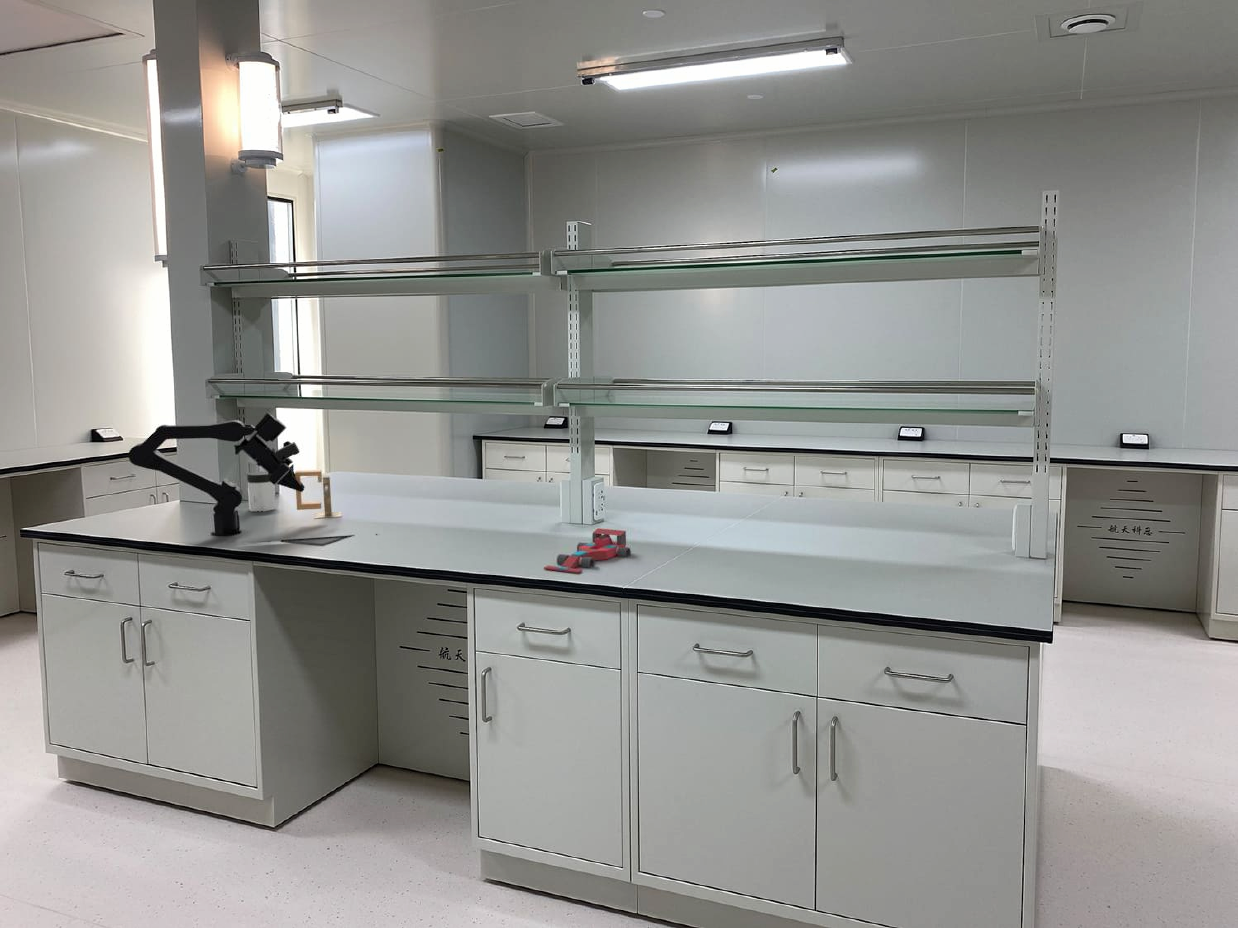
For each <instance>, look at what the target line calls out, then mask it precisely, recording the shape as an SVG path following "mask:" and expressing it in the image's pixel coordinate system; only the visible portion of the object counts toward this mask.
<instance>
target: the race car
mask: <svg viewBox="0 0 1238 928" xmlns="http://www.w3.org/2000/svg"><path fill="white" fill-rule="evenodd" d="M626 533H627V530H619V529H608V528H596V529H595V530H594V531H593V532H592V539H591V540H592V542H589V543H587V542H580V541H579V542H578V544H577V545H576V551H577V552H574V553H573V552H572V553H571V554H565V553H564V554H562V553H561V554H558V555H557V556H556V557H557V558H556V564H557V565H560V566H555V565H547V566H544V567H543V570H549V571H559V572H566V573H573V574H579V573H581V572H583V569H580V568H577V567H581V568H586V569H591V568H594V567H595V565H596V561H603V560H608V559H611V558H613V557H616V556H617V557H618V558H619V557H620V558H628V557H630V556H631V554H632V552H631V551H632V549H631V548H630V547H628V546H627V534H626ZM611 536H616V541H613V540H612V538H611Z"/></svg>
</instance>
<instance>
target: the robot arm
mask: <svg viewBox="0 0 1238 928" xmlns="http://www.w3.org/2000/svg"><path fill="white" fill-rule="evenodd" d="M286 429H287V426H286V425H285V424H284V423H283V422H282V421H281V420H279V419H278V418H276V417H275V416H273V414H271V413H269V412H267V413H265V414H264V415H263V417H262V418H261V419H260V421H259V422H257V424H256V425H254V424H244V423H243V422H242V421H241V420H238V419H232V420H226V421H222V422H218V423H217V422H216V423H212V424H186V425H185V424H182V425H181V424H180V425H179V424H175V425H168V424H162V425H160V426H158V427H157V428H156V429H155V431H154V432H153V433H152V434H151V435H149V437H147V438H146V439H145V440H144V441H143V442H142V443H138V444H136V445H134V446H132V447H131V448H130V449H129V451H128V455H127V457H128V459H129V462H130V463H131V464H132V465H134V466H137V467H140V468H144V469H147V470H152V471H158V472H161V473H163V474H166V475H167V476H169V477H172V478H174V479H176V480H177V481H178V480H179V481H180V482H182V483H184V484H187V485H188V486H191V487H192V488H194V489H195V488H196V489H198V490H199V491H201V492H204V493H206V494H208V495H209V496H210V497H211V498H212V499H214V500H215V501H216V503H215V504H214V506H213V509H212V510H213V512H214V513H213V514H212V515H213V526H214V527H213V529H214V531H212V532H210V535H213V536H214V535H216V536H218V535H219V536H227V537H228V536H232V535H236V534H239V533H242V531H243V529H241V525H240V515H239V511H238V510H236V508H237V507H239V506H240V505H241V504H242V501H243V499H244V492H243V490H242V488H241V487H239V486H238V485H239V484H238V483H234V482H232V481H231V480H228V479H227V478H225V477H224V478H223V479H222V481H217V480H214V479H212V478H210V477H207V476H205V475H204V474H201V473H199V472H197V471H195V470H193V469H191V468H188V467H186V466H184V465H182V464H180V463H178V462H176V461H174V460H171V459H169V458H167V457H166V456H165V455H164V454H163V453H162V452H160V451H159V450H158V449H159V448H160V447H161V445H162V444H163V443H165V441H167V440H183V439H184V440H186V439H187V440H188V439H190V440H191V439H192V440H193V439H213V440H218V441H219V440H220V441H225V442H226V441H227V442H232V443H234V442H235V443H236V442H239V441H241V440H242V441H241V442H240V443H239V444H237V443H236V444H234V446H233V447H234V454H235V455H239V454H240V452H242V451H243V452H244V453H245V454H246V455H247V456H248V457H249V458H250V459H252V460H253V461H254V462H255V463H256V465H257V466H258V467H261V468H262V469H263V470H265V472H268V474H269V481H270V482H271V483H272V484H274V486H275V485H279V486H282V487H286V488H289V489H291V490H294V491H296V490H297V491H300V492H301V493H303V491H304V490H305V485H304V484H303V483H302V481H301V484H300V483H299V482H298V481H297V480H296V478H295V471H294V464H292V463H293V462H294V461H293V460H292V459H291V458H290V457H292V456H295V455H298V454H300V449H299V447H298V445H297V443H296V442H295V441H293V442H291V441H289V440H287V441H285V442H283V444H282V445H283V446H282V447H280V448H279V449H276V448H274V447H272V448H271V447H270V446H269V445H267V444H266V443H268V442H272V443H273V442H274V441H275V440H276V439H277V438H278V437H279V436H280V435H281V434H282V433H283V432H284V431H285V430H286ZM255 431H256V432H255ZM254 432H255V433H254ZM253 433H254V434H253ZM252 434H253V435H252ZM251 435H252V436H251ZM246 436H251V437H250V438H249V437H246ZM258 436H259V437H260V438H259V437H258ZM244 437H245V438H244ZM243 438H244V439H243ZM265 442H266V443H265ZM291 464H292V465H291Z"/></svg>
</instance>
